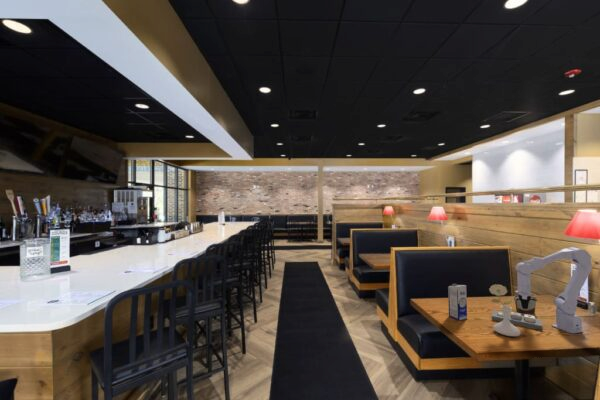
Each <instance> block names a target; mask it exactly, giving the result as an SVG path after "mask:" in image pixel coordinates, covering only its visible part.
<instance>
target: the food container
mask: <svg viewBox="0 0 600 400" xmlns="http://www.w3.org/2000/svg"><path fill="white" fill-rule="evenodd" d="M518 295H519V294H515V295H514V296H513V301H514V303H515V310H516V311H515V312H516V313H521V315H524V314H526V315H535V314H536V303H537V302H538V300H537V298H536V297H534V296H532V295H530V296H531V300H530V301H529V304H528V309H523V308H522V305H521V301H520V299H519V297H518Z"/></svg>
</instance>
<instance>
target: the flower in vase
mask: <svg viewBox="0 0 600 400" xmlns="http://www.w3.org/2000/svg"><path fill="white" fill-rule="evenodd" d="M488 290H489V292H490V293H491V294H492V295H495V296H498V299H497V298H492V299H491V300H490V302H493V303H496V304H498V303H501V304H502V305H501V304H500V306H499V307H500V308H501V310H502V312H503V314H504V319H503V321H502V322H500V321H499V322H497V323H496V324H494V325H493V330H494V331H495V332H496V333H498V334H501V335H503V336H507V337H519V336H520V335H521V331H520V329H518V327H516V325H514V324H511V323H510V321H509V313H511V310H513V307H512V306H510V305H509V304H511V303H512V301H513V300H508V301H507V300H506V301H504V303H503V302H502V300H501V296H505V295H506V294H507V293H508V289H507V287H506V286H503V285H502V284H496V283H495V284H492V285H491V286H490V288H488Z"/></svg>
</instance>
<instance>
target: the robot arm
mask: <svg viewBox="0 0 600 400" xmlns="http://www.w3.org/2000/svg"><path fill="white" fill-rule="evenodd" d="M563 259H564V260H565V259H566V260H571V261H573V263H574V264H575V266H576V267H575V269H574V271H573V273H572V275H571V277H570V279H569V281H568V282H567V284H566V286H565V288H564V290H563V291H562V292H561V293H559V295H558V296H556V297H555V298H554V300H553V304H554V306H555V323H556V324H551V326H552V327H554V328H557V329H559V330H561V331H564V332H567V333H569V334H577V333H578V334H579V333H583V332H584V331H583V322H582V318H581V317H580V316H579V315H576V314H575V313H576V312H577V305H578V299H577V298H578V295H579V294H580V291H582V288H583V286H584V284H585V283H586V282H587V281H586V280H587V279H588V277H589V275H590V273H591V271H592V270H593V265H592V256H591V254H590V253H589V252H588V250H586V249H583V248H577V247H576V246H569V247H567V248H566V247H565V248H562V249H560V250H558V251H556V252H554V253H551V254H549V255H547V256H544V257H539V256H538V257H537V256H534V257H532V259H529V260H524V261H523V262H518V263H516V265H515V267H514V268H515V270H516V271H517V272H516V273H517V276H516V277H517V279H516V280H517V281H516V282H517V290H515V291H514V292H515V293H516V294H517V295H518V297H519V299H520V301H521V305H522V308H523V309H528V304H529V301H530V300H531V296H532V290H531V289H532V287H531V286H532V285H531V273H532V272H534V271H537V270H540V269H543V268H545V267H546V266H547V264H549V263H553V262H556V261H560V260H563Z"/></svg>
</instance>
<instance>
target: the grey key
mask: <svg viewBox="0 0 600 400" xmlns="http://www.w3.org/2000/svg"><path fill="white" fill-rule="evenodd" d="M510 313H511V318H514V319H519V320H521V315H522V314H521V313H517V312H516V311H514V312H513V311H510Z"/></svg>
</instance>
